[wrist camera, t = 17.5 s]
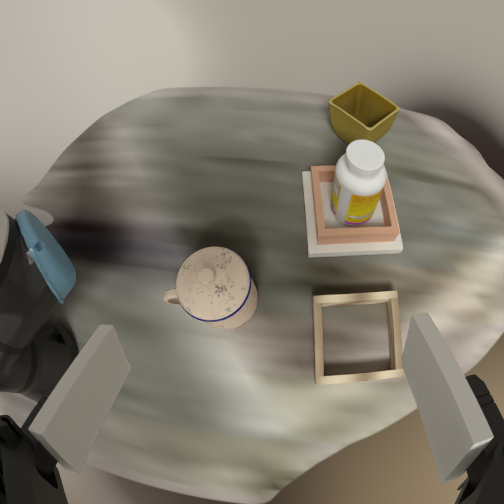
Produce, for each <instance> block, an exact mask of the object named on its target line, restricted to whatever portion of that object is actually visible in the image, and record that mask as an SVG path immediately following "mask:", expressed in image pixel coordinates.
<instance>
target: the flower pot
mask: <svg viewBox="0 0 504 504" xmlns="http://www.w3.org/2000/svg"><path fill="white" fill-rule="evenodd" d="M399 109H400V108H399V107H398V106H397V105H395V104H394V103H393V102H391V101H390V100H388V99H387V98H385V97H383V96H382V95H381V94H379V93H377V92H376V91H374V90H372V89H371V88H370V87H368V86H366V85H365V84H363V83H360V82H359V83H357V84H355V85H353V86H352V87H350V88H348V89H347V90H345V91H343V92H342V93H340V94H338V95H337V96H335V97H333V98H332V99H330V100H329V112H330V121H331V125H332V127H333V129H334V131H335V132H336V134H337V135H338V136H339V137H340V139H342V140H343V141H344V142H346V143H347V144H348V145H349V144H350V143H351V142H353V141H355V140H368V141H371V142H374V143H375V142H376V141H377V140H379V139H380V138H381V137H383V136H384V135H385V134H386V133H387V132H388V130H389V129H390V127H391V126H392V124H393V122H394V120H395V118H396V116H397V114H398V112H399Z"/></svg>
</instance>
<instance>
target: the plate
mask: <svg viewBox="0 0 504 504" xmlns="http://www.w3.org/2000/svg"><path fill="white" fill-rule="evenodd" d="M384 167H385V166H384ZM335 169H336V165H329V166H311V171H302V180H303V191H304V203H305V215H306V228H307V242H308V257H330V256H350V255H371V254H390V253H401V251H402V250H403V245H402V240H401V234H400V229H399V224H398V219H397V215H396V210H395V205H394V201H393V197H392V192H391V188H390V184H389V180H388V176H387V178H386V182H385V185H384V188H383V191H382V193H381V196H380V199H379V201H378V204H377V206H376V209H375V211H374V214H373V216H372V218H371V219H370V220H369V221H368V222H367V223H366V224H364V225H361V226H356V227H353V226H347V225H345V224H343V223H341V222H340V221H338V220H337V219H336V217H335V216H334V214H333V212H332V209H331V198H332V191H333V184H334V177H335ZM386 174H387V172H386Z"/></svg>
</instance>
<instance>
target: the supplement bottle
mask: <svg viewBox="0 0 504 504" xmlns="http://www.w3.org/2000/svg"><path fill="white" fill-rule="evenodd" d="M384 160H385V156H384V152H383V151H382V149H381V148H380V147H379V146H378V145H377V144H375V143H374V142H371V141H368V140H355V141H353V142H351V143H350V144H349V145H348V147H347V149H346V153H345V154H344V155H343V156H341V157H340V159H339V160H338V162H337V164H336V169H335V177H334V184H333V191H332V198H331V209H332V212H333V214H334V216H335V217H336V219H337V220H338V221H340V222H341V223H343V224H345V225H347V226H353V227H356V226H361V225H364V224H366V223H367V222H368V221H369V220H370V219H371V218H372V216H373V214H374V211H375V209H376V206H377V204H378V201H379V199H380V196H381V193H382V191H383V188H384V185H385V182H386V178H387V174H386V169H385V167H384V165H383V164H384Z"/></svg>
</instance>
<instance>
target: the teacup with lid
mask: <svg viewBox="0 0 504 504" xmlns="http://www.w3.org/2000/svg"><path fill="white" fill-rule="evenodd" d="M163 300H164V301H165V302H166V303H168V304H172V305H181V306H182V307H183V309H184V310H185V311H186V312H187V313H188V314H189V315H191V316H192V317H194V318H196V319H198V320H201V321H205V322H207V323H209V324H210V325H212V326H214V327H216V328H220V329H233V328H237V327H239V326H241V325H243V324H244V323H246V322H247V321H248V320H249V319H250V318H251V317H252V315H253V314H254V312H255V310H256V307H257V302H258V294H257V290H256V287H255V285H254V283H253V281H252V279H251V274H250V270H249V268H248V266H247V264H246V262H245V261H244V260H243V258H242V257H241V256H240V255H238V254H237V253H236V252H234V251H232V250H230V249H227V248H223V247H207V248H203V249H201V250H198V251H197V252H195V253H193V254H192V255H191V256H189V257H188V258H187V259H186V260H185V262H184V263H183V264H182V266H181V268H180V270H179V272H178V275H177V279H176V288H174V289H169V290H167V291H165V292H164V293H163Z"/></svg>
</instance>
